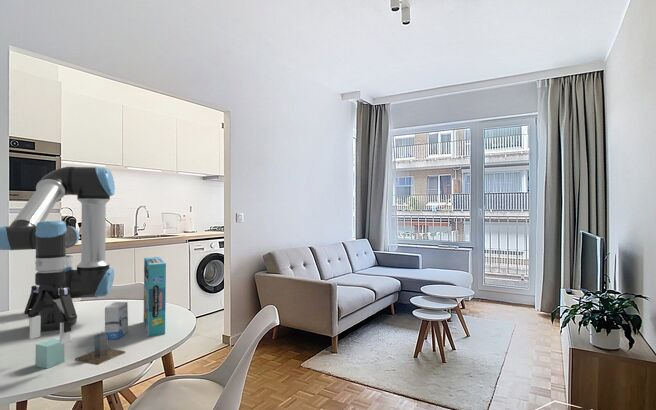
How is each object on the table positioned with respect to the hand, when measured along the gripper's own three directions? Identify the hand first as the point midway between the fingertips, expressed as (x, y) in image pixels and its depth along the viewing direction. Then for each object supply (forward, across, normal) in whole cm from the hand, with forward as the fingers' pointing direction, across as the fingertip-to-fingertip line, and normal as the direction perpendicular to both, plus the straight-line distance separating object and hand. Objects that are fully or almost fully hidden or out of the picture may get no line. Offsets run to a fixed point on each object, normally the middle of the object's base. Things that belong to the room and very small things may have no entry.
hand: (49, 340), depth 116 cm
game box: (+7, +3, +38) cm, 39 cm away
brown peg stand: (+7, +9, +10) cm, 15 cm away
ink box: (+7, -3, +26) cm, 28 cm away
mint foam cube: (+7, 0, 0) cm, 7 cm away
